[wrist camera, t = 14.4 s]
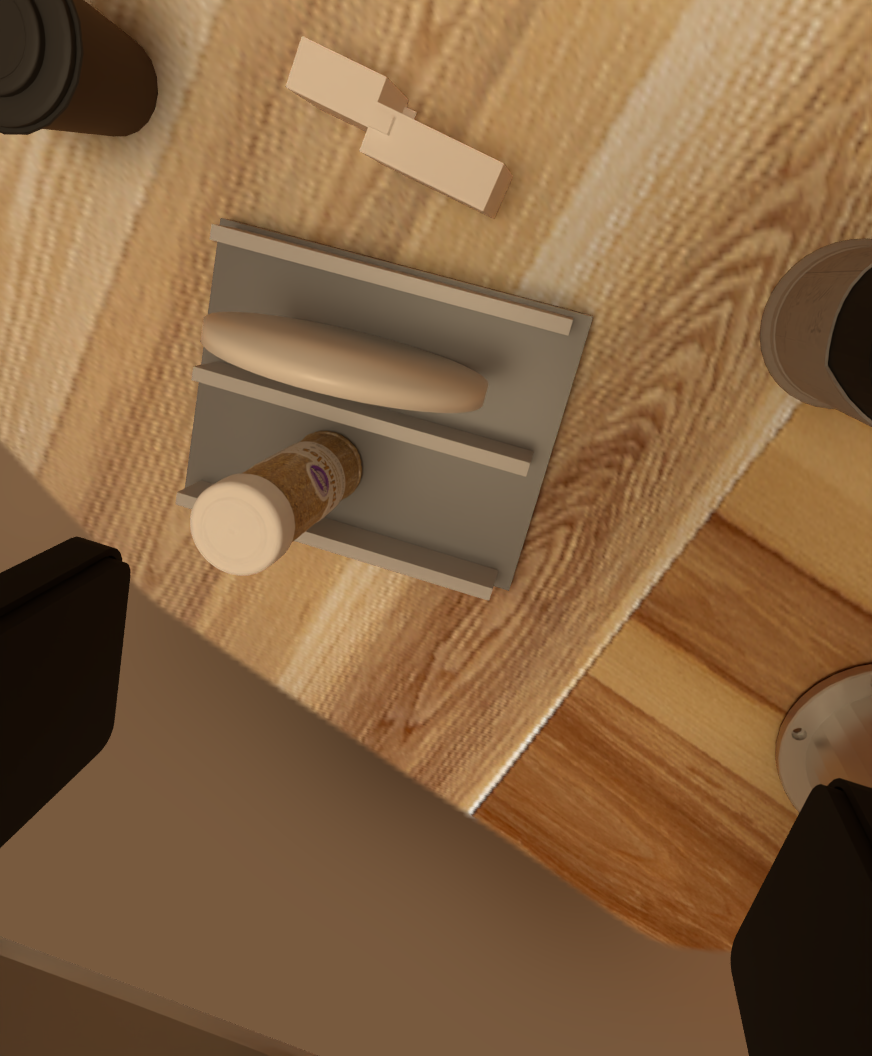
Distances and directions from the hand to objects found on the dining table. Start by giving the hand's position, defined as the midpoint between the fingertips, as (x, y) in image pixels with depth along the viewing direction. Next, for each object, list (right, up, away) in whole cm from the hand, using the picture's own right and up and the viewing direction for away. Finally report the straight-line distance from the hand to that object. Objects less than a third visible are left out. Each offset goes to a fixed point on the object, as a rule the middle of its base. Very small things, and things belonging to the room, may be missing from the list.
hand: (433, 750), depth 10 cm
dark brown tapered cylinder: (-18, +28, +34) cm, 48 cm away
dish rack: (-4, +10, +36) cm, 38 cm away
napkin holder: (-1, +25, +32) cm, 40 cm away
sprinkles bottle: (-7, +7, +37) cm, 38 cm away
